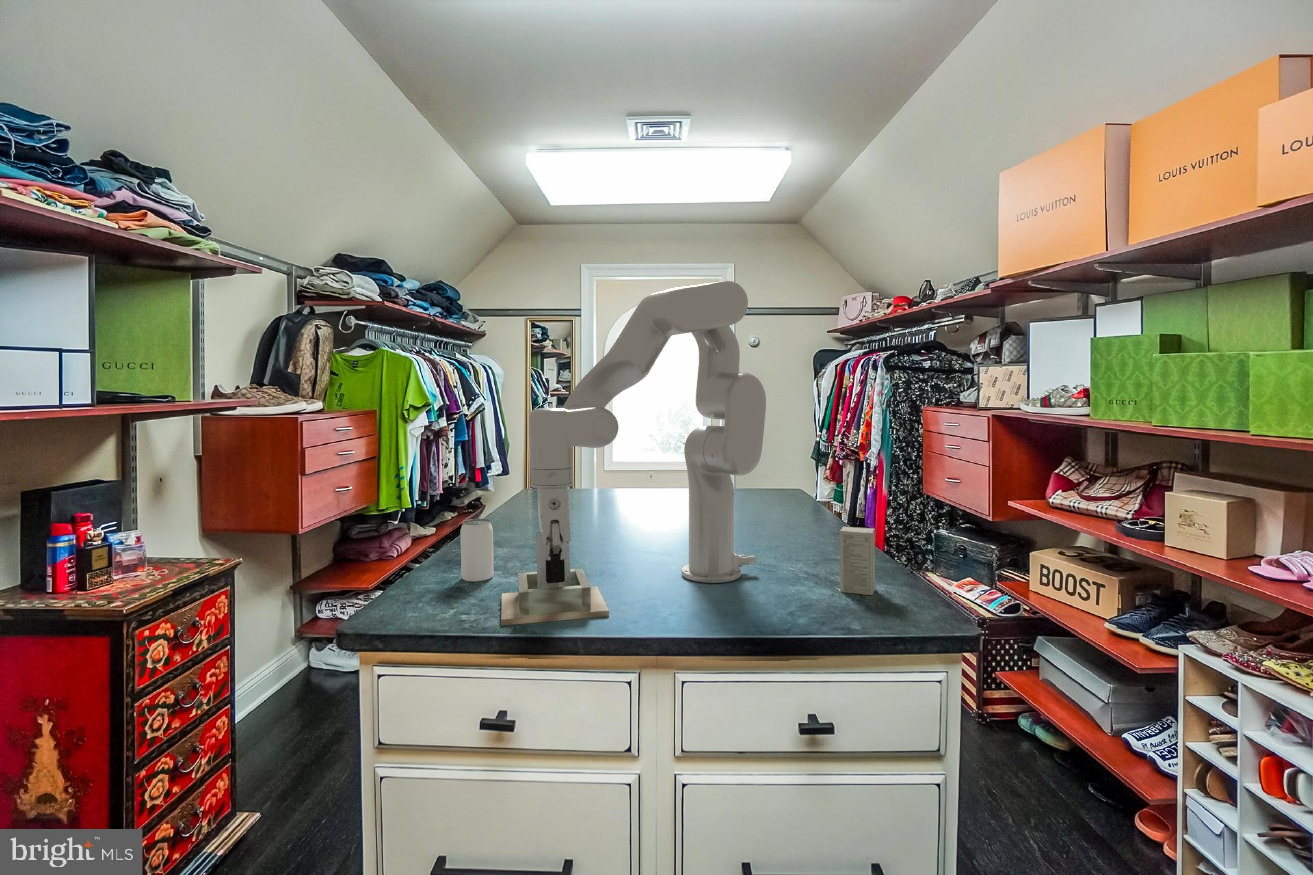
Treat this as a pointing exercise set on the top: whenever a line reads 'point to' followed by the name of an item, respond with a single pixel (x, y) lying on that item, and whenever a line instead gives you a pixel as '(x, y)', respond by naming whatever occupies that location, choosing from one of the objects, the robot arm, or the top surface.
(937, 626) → the top surface
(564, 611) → the bottle stand
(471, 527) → the can
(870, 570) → the skincare box
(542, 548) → the skincare box
